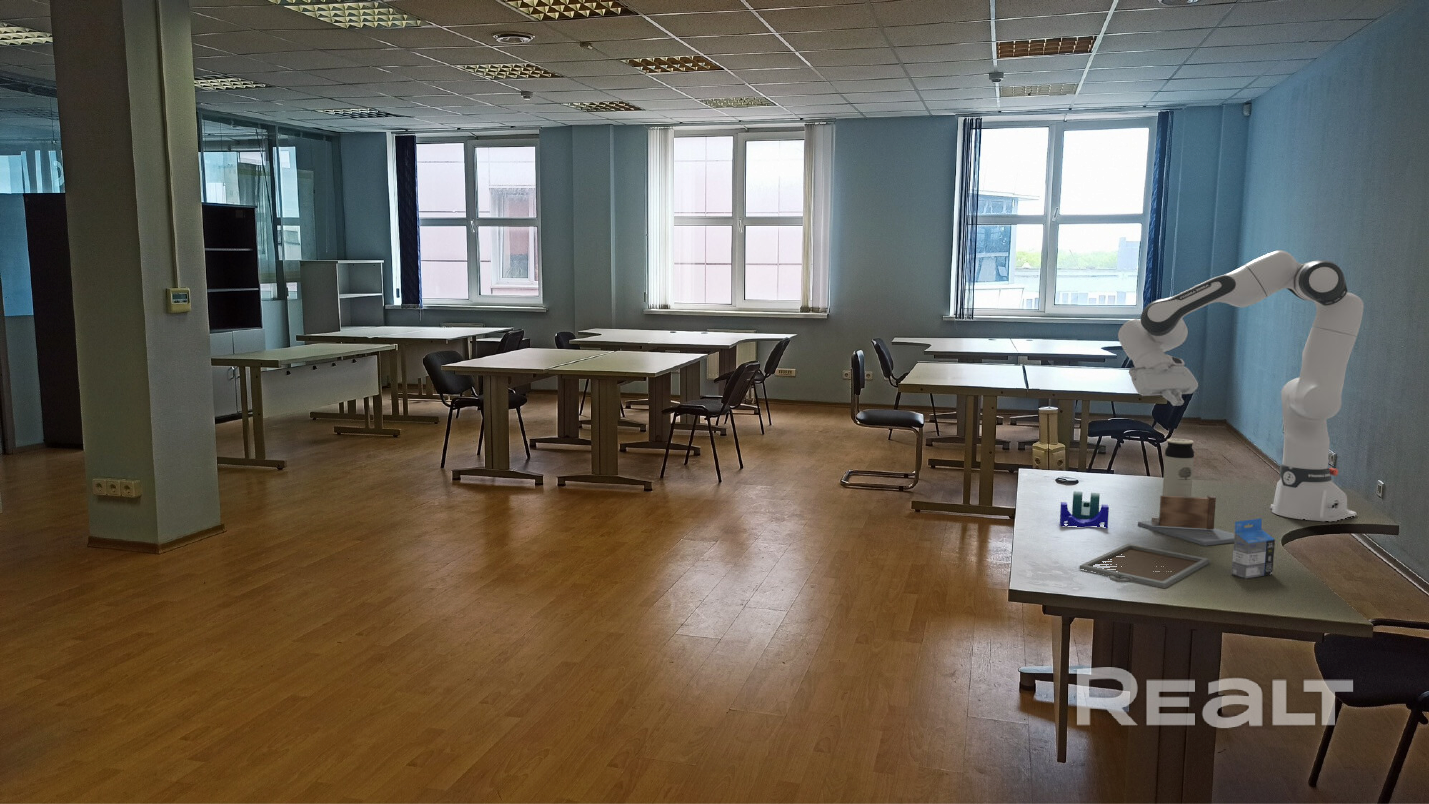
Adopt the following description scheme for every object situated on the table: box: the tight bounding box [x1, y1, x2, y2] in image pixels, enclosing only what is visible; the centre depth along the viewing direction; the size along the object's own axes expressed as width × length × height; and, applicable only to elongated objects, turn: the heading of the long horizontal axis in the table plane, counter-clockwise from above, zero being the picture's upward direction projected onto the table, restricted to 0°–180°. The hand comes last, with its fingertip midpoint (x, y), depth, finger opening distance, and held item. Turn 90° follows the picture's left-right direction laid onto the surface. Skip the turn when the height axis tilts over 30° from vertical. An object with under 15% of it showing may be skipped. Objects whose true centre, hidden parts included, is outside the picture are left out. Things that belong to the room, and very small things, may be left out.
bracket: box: [1071, 490, 1101, 520], centre depth 276 cm, size 18×7×8 cm, turn 158°
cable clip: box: [1059, 501, 1110, 529], centre depth 264 cm, size 12×4×6 cm, turn 74°
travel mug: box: [1162, 438, 1195, 497], centre depth 297 cm, size 8×8×18 cm
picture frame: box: [1079, 543, 1210, 589], centre depth 226 cm, size 19×2×30 cm
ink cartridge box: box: [1230, 518, 1276, 580], centre depth 220 cm, size 9×4×12 cm, turn 114°
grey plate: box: [1137, 519, 1235, 547], centre depth 257 cm, size 14×22×1 cm, turn 21°
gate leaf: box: [1150, 494, 1217, 530], centre depth 257 cm, size 15×2×8 cm, turn 76°
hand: (1178, 404), depth 276 cm, fingers closed
